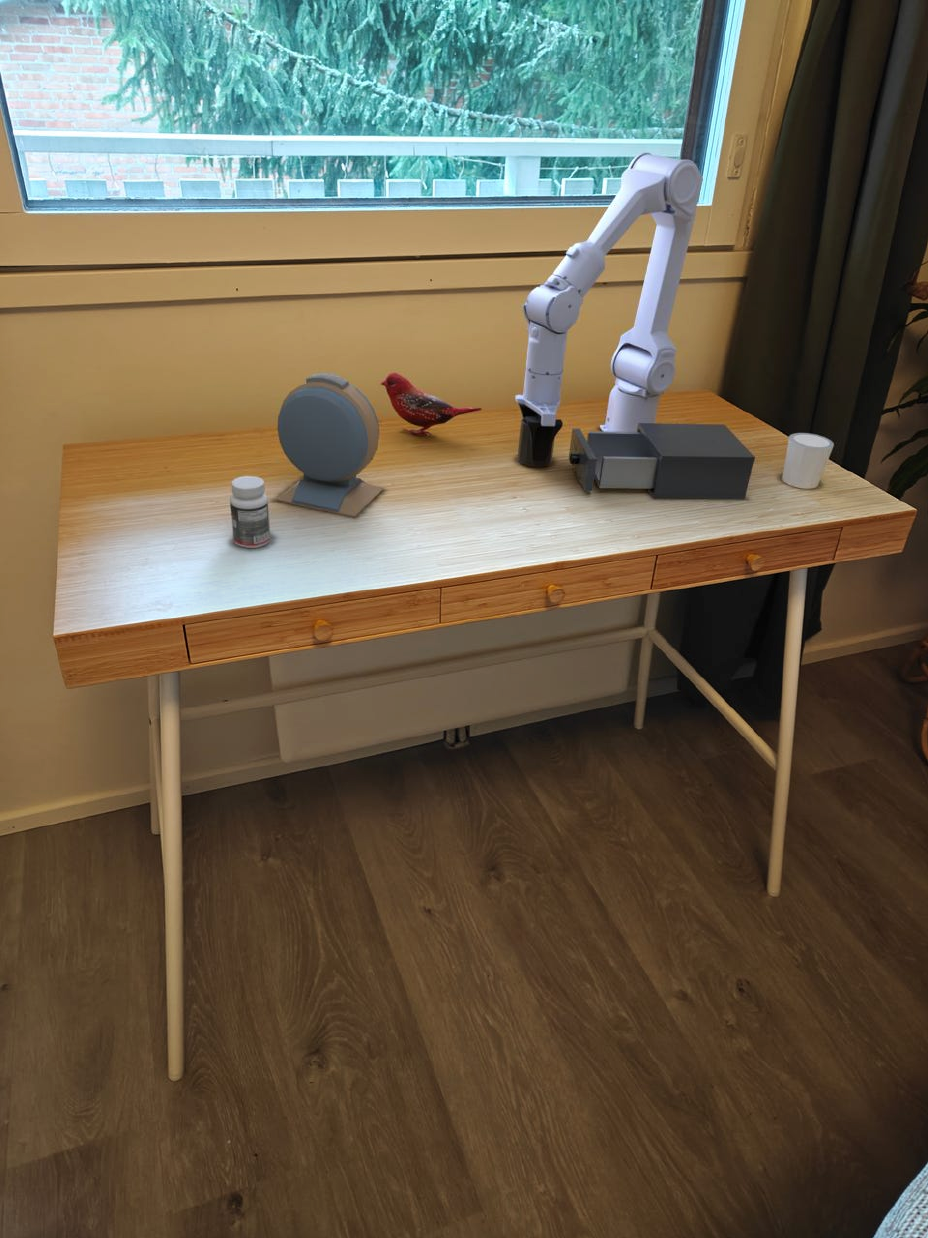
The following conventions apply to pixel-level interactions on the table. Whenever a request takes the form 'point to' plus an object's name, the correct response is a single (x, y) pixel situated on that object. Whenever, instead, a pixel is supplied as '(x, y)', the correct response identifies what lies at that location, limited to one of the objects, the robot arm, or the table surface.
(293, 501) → the alarm clock
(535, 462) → the dark grey faceted cup
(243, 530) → the pill bottle
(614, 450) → the drawer
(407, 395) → the decorative bird figurine
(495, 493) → the table surface
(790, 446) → the white cylinder
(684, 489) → the dark grey cabinet
